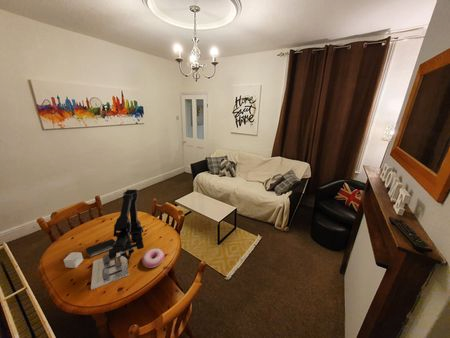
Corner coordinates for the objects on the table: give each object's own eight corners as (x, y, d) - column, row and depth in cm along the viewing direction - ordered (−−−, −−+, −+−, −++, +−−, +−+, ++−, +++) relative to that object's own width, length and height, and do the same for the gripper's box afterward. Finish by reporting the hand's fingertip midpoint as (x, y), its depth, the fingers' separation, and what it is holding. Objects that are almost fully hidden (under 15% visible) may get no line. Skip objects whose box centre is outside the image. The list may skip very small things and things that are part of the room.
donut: (154, 272, 108) (154, 266, 106) (137, 265, 112) (136, 259, 110) (168, 256, 120) (168, 250, 118) (152, 250, 124) (152, 244, 122)
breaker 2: (109, 271, 105) (108, 267, 103) (109, 277, 101) (108, 272, 100) (103, 274, 103) (102, 269, 102) (103, 279, 100) (101, 274, 99)
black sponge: (87, 259, 115) (86, 255, 113) (86, 251, 121) (85, 247, 120) (116, 248, 125) (116, 243, 124) (114, 241, 131) (113, 237, 130)
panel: (126, 252, 121) (126, 250, 121) (129, 275, 105) (128, 273, 105) (93, 262, 112) (93, 260, 112) (91, 289, 96) (90, 287, 96)
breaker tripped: (120, 260, 112) (119, 256, 111) (121, 265, 109) (120, 260, 108) (115, 262, 111) (114, 257, 110) (115, 267, 108) (114, 262, 107)
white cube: (65, 267, 108) (63, 259, 106) (73, 259, 114) (71, 252, 112) (75, 267, 108) (73, 260, 106) (83, 259, 114) (81, 252, 112)
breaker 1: (109, 257, 114) (108, 253, 113) (109, 262, 111) (108, 257, 110) (103, 259, 113) (102, 254, 111) (103, 264, 109) (102, 259, 108)
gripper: (140, 226, 119) (142, 245, 124) (106, 236, 109) (111, 256, 114) (142, 237, 110) (145, 256, 115) (106, 248, 100) (111, 269, 106)
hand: (128, 259), depth 113 cm, fingers closed
